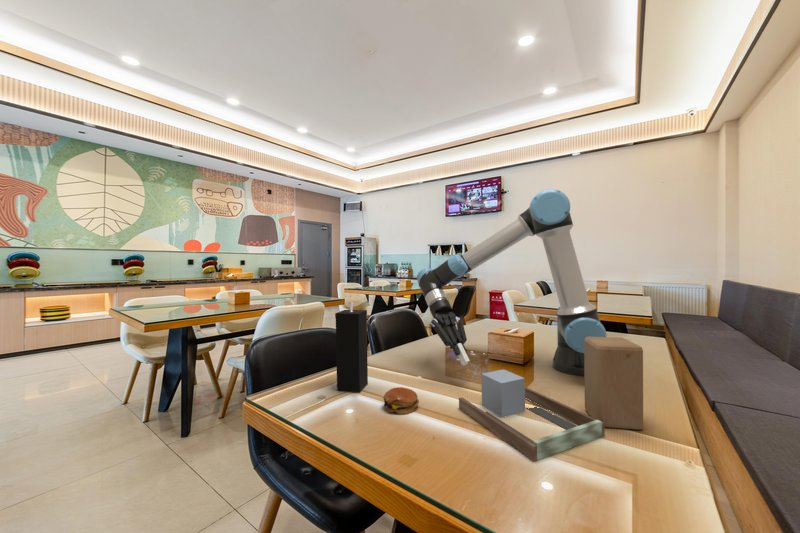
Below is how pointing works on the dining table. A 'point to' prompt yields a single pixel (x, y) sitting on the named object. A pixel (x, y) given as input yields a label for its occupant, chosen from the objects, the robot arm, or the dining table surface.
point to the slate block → (503, 392)
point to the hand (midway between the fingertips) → (465, 363)
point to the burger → (401, 400)
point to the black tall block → (351, 349)
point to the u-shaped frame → (546, 445)
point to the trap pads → (546, 415)
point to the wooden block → (614, 381)
